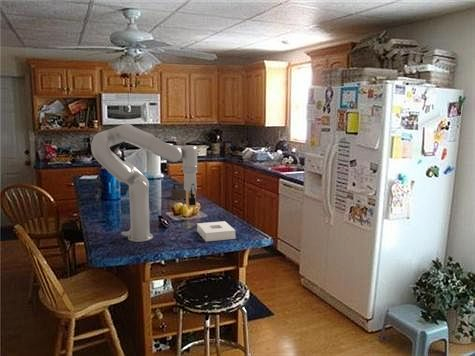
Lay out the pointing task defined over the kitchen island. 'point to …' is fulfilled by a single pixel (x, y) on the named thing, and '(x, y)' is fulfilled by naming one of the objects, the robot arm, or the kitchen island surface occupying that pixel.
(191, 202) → the robot arm
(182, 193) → the clothes iron
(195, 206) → the plug
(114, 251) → the kitchen island surface
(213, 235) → the socket block
